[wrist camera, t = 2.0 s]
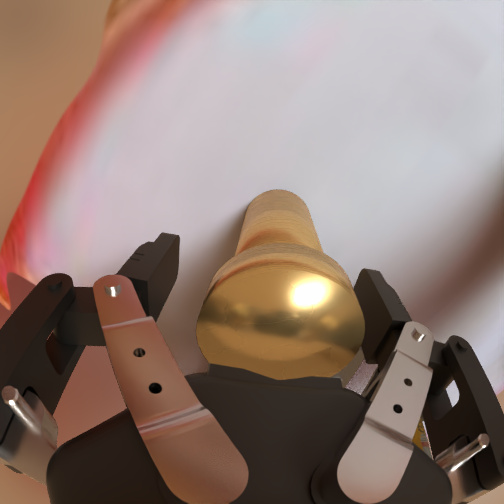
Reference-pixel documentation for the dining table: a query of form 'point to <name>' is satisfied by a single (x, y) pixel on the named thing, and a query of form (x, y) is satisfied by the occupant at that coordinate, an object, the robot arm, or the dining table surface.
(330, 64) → the dining table surface
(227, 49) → the dining table surface
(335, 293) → the brass pin
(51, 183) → the dining table surface
